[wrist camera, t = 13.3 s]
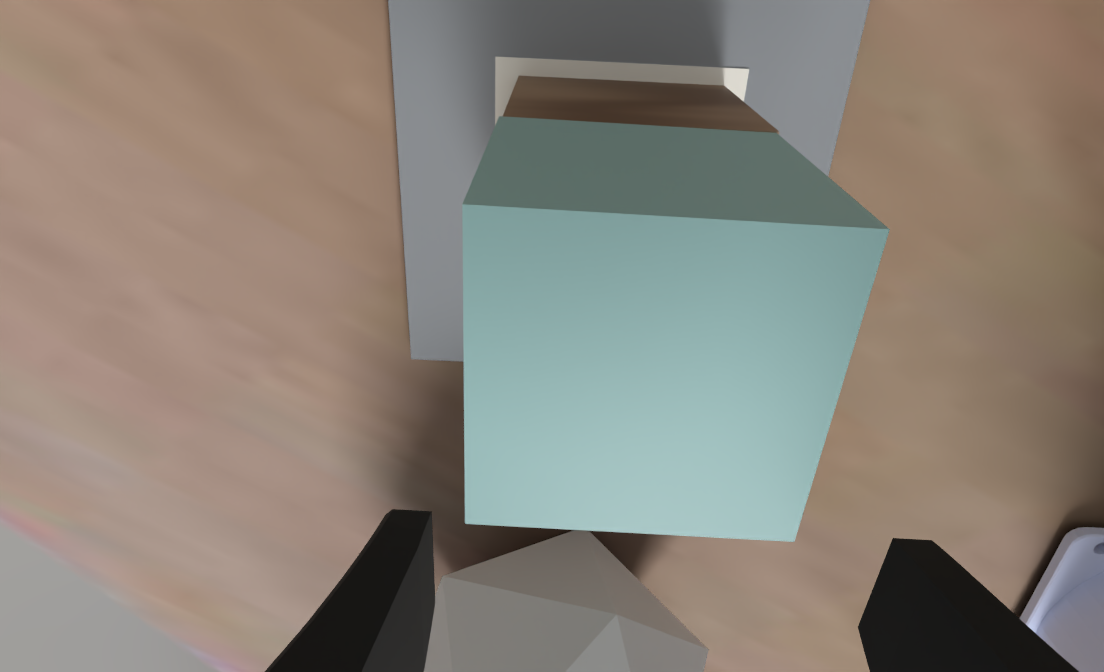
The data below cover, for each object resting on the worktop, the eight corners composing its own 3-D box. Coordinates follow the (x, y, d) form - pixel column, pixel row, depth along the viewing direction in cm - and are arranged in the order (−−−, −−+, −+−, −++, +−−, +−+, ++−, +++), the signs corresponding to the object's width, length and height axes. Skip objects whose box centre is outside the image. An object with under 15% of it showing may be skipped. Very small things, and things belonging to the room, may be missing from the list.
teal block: (775, 133, 11) (889, 229, 7) (727, 369, 13) (793, 541, 9) (499, 116, 11) (462, 204, 7) (494, 356, 13) (465, 523, 9)
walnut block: (723, 85, 15) (779, 131, 11) (695, 274, 17) (732, 368, 13) (519, 75, 15) (501, 118, 11) (515, 265, 17) (499, 357, 13)
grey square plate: (872, -45, 14) (881, -45, 14) (776, 368, 19) (780, 377, 19) (388, -69, 14) (383, -70, 14) (414, 351, 19) (411, 359, 19)
